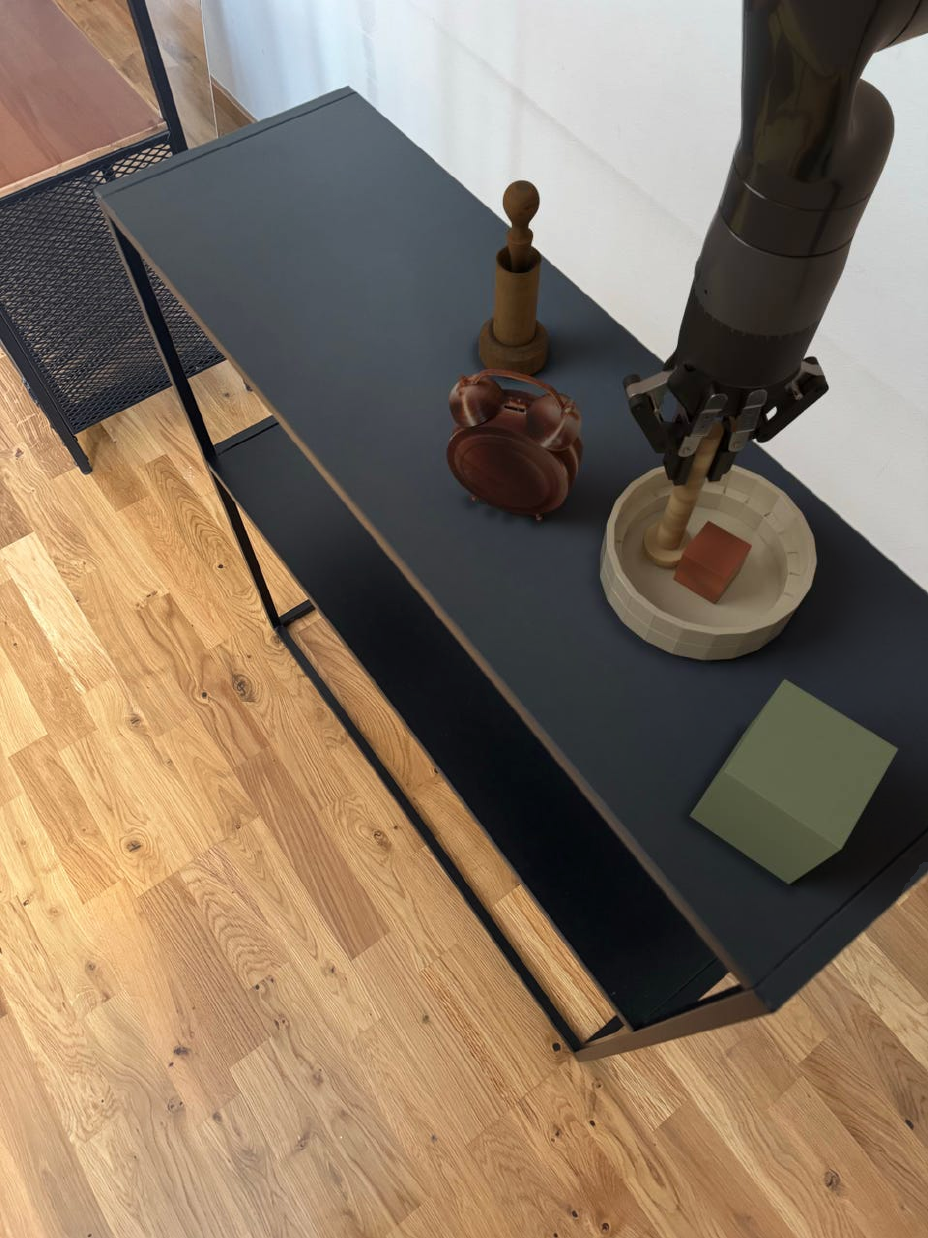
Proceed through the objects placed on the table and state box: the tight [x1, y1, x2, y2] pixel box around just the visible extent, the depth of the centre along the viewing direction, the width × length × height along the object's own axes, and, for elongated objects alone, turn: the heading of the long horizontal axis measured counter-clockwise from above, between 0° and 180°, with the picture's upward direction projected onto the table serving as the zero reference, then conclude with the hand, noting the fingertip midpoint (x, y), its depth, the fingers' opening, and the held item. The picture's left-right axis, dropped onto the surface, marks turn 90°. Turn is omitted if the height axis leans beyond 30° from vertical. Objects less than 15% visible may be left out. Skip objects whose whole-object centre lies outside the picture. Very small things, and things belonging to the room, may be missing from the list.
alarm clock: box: [445, 368, 584, 521], centre depth 71 cm, size 11×5×15 cm, turn 69°
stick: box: [642, 418, 724, 567], centre depth 67 cm, size 4×4×15 cm
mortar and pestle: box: [478, 179, 549, 376], centre depth 78 cm, size 7×6×18 cm
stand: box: [689, 678, 899, 885], centre depth 60 cm, size 8×8×10 cm
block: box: [673, 521, 752, 604], centre depth 71 cm, size 4×4×4 cm
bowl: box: [599, 464, 818, 661], centre depth 71 cm, size 16×16×5 cm
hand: (693, 473), depth 65 cm, fingers closed on stick, 2 cm apart
